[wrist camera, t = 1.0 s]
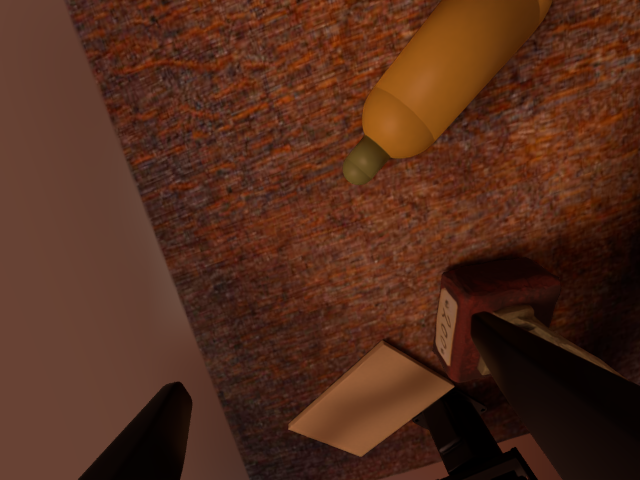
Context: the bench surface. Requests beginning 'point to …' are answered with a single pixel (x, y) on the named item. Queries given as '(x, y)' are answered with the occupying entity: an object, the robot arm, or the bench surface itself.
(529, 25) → the orange rounded cylinder
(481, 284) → the sculpture
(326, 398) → the birch board
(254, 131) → the bench surface
